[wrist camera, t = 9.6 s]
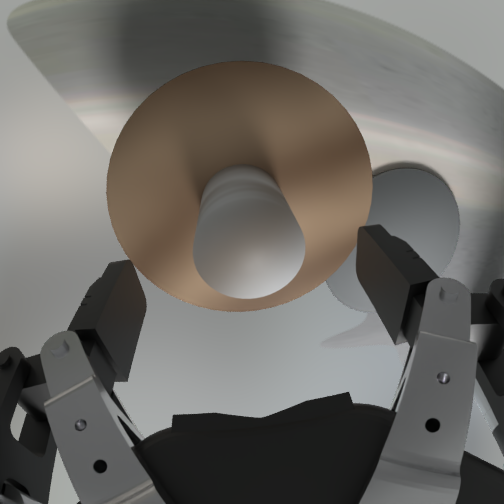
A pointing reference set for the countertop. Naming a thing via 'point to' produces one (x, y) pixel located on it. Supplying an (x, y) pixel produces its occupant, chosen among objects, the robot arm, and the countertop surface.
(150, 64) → the countertop surface
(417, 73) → the countertop surface
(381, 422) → the robot arm
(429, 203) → the rubber mat
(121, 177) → the walnut lid
